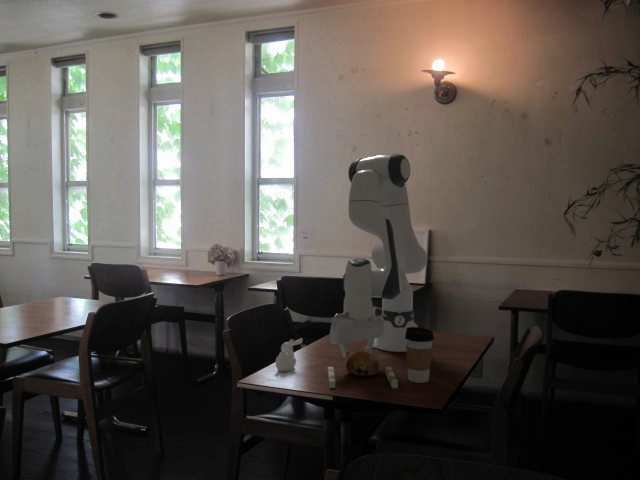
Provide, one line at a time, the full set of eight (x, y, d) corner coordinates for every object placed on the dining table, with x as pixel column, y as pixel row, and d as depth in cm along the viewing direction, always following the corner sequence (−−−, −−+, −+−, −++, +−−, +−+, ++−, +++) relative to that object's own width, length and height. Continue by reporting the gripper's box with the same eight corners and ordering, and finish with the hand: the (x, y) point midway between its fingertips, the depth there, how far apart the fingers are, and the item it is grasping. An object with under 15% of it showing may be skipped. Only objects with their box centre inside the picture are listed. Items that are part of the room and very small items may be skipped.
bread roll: (380, 384, 175) (386, 359, 177) (368, 375, 167) (374, 349, 169) (351, 378, 180) (358, 354, 182) (338, 369, 172) (345, 344, 174)
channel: (327, 373, 175) (327, 366, 175) (390, 373, 175) (390, 367, 175) (329, 388, 161) (329, 381, 161) (397, 388, 161) (398, 381, 161)
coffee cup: (413, 373, 176) (414, 325, 175) (438, 379, 170) (439, 329, 169) (398, 380, 169) (399, 329, 168) (424, 386, 164) (425, 334, 163)
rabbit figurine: (282, 362, 186) (283, 333, 186) (305, 364, 185) (305, 334, 184) (271, 373, 174) (272, 341, 174) (296, 375, 173) (296, 343, 172)
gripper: (339, 316, 171) (338, 362, 172) (387, 309, 184) (386, 352, 185) (325, 312, 176) (324, 357, 177) (374, 306, 189) (373, 348, 189)
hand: (356, 354), depth 181 cm, fingers open, 8 cm apart
